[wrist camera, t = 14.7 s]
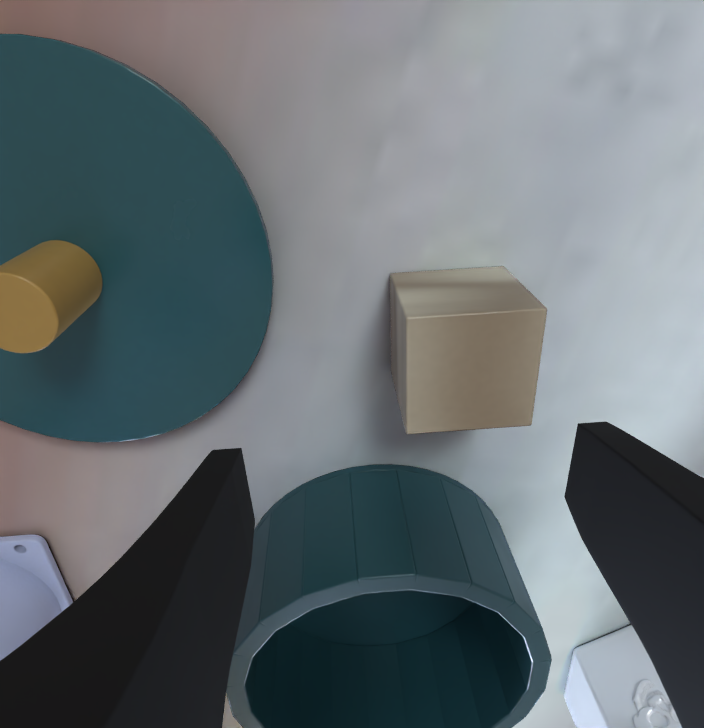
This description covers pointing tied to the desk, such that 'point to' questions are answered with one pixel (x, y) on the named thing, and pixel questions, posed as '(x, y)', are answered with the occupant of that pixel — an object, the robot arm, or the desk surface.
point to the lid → (118, 251)
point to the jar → (617, 685)
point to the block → (464, 349)
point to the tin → (385, 610)
